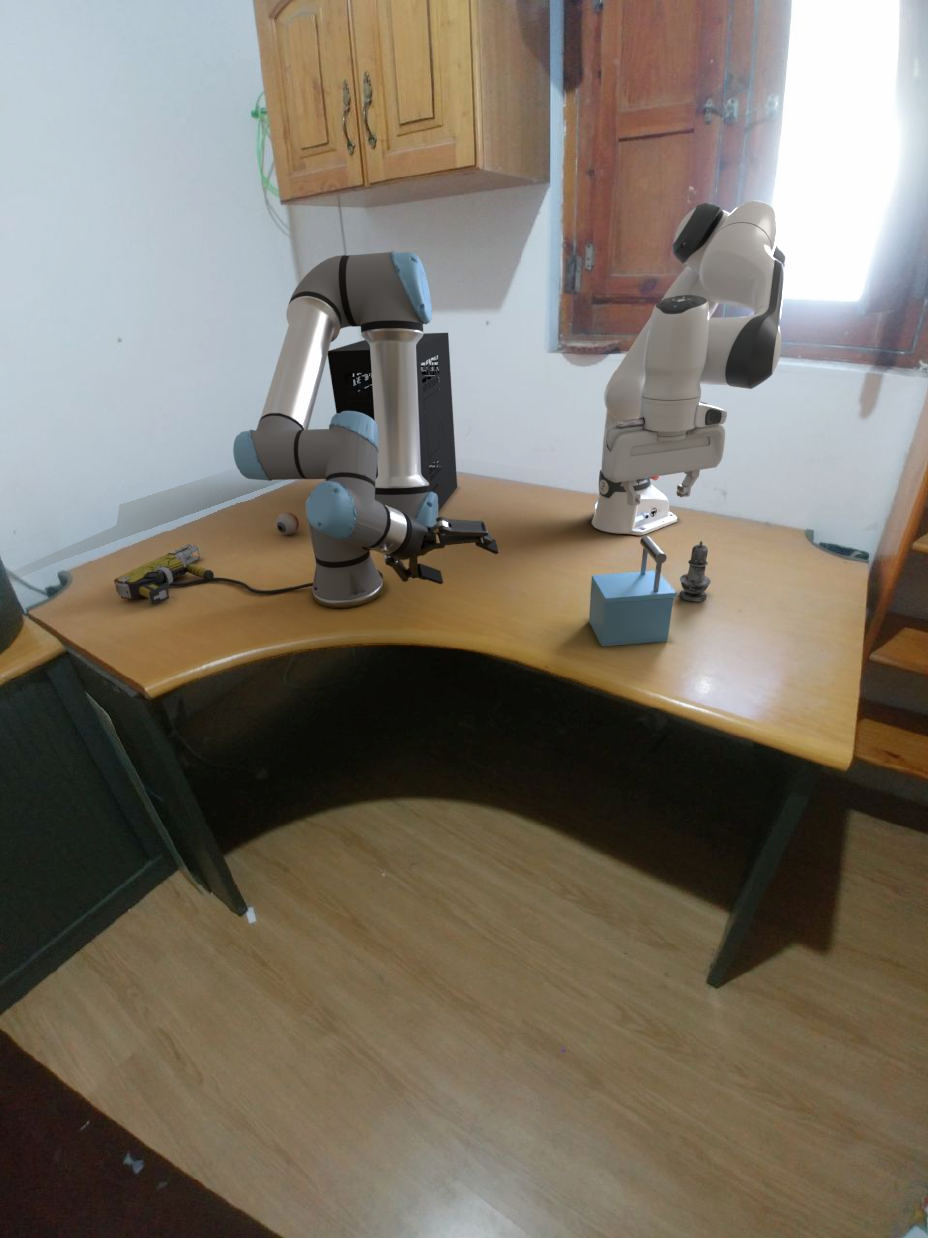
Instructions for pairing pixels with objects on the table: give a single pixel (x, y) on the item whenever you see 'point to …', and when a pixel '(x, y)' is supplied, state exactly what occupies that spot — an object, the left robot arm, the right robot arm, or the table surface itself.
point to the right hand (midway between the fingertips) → (658, 500)
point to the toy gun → (160, 575)
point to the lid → (636, 580)
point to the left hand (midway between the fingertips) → (467, 562)
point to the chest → (629, 620)
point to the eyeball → (287, 523)
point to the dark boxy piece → (431, 403)
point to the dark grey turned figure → (696, 576)
